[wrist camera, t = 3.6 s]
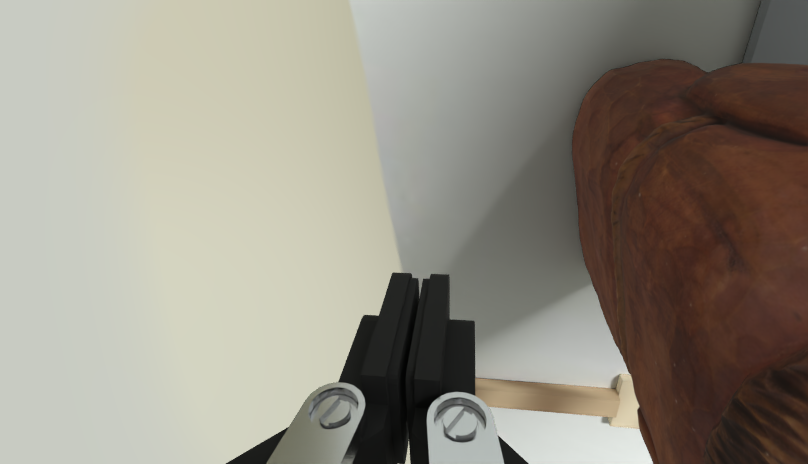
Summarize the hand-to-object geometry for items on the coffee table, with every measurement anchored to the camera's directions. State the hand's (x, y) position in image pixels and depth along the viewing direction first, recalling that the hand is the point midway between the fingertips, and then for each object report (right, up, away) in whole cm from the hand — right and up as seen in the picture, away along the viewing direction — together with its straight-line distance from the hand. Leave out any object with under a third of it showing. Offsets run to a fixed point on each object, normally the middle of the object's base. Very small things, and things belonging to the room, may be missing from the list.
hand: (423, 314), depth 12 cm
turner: (+14, -9, +16) cm, 23 cm away
